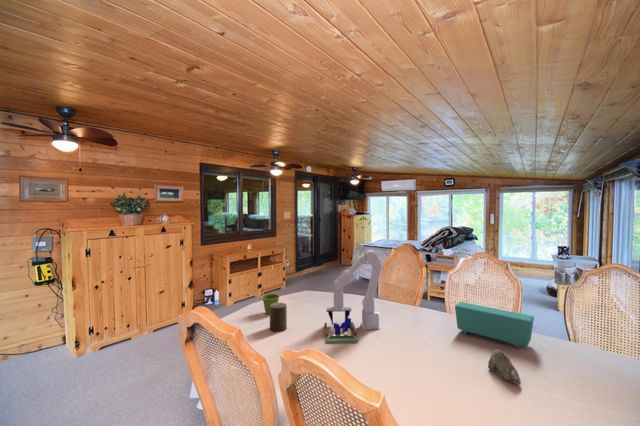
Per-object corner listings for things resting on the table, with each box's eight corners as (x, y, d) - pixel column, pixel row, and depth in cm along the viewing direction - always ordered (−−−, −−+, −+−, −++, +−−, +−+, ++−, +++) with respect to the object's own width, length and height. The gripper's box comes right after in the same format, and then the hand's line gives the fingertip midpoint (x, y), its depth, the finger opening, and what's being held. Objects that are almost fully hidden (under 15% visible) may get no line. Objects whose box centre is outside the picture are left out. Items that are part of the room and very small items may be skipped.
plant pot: (259, 311, 196) (259, 295, 196) (277, 309, 201) (276, 292, 201) (264, 317, 186) (264, 300, 185) (282, 314, 191) (282, 297, 190)
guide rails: (353, 325, 172) (353, 322, 172) (356, 336, 157) (356, 333, 157) (324, 326, 171) (324, 322, 171) (325, 337, 156) (325, 333, 156)
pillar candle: (275, 333, 162) (275, 306, 162) (266, 328, 169) (266, 302, 169) (290, 329, 168) (290, 303, 168) (280, 324, 176) (280, 299, 175)
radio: (534, 345, 144) (534, 315, 144) (531, 353, 137) (531, 321, 136) (460, 327, 167) (460, 300, 167) (454, 332, 160) (454, 305, 159)
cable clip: (344, 326, 170) (344, 316, 170) (351, 329, 167) (350, 318, 167) (331, 333, 161) (331, 322, 161) (337, 336, 158) (337, 325, 158)
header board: (356, 337, 156) (356, 328, 156) (358, 342, 150) (358, 333, 150) (326, 338, 155) (326, 328, 155) (326, 343, 149) (326, 333, 149)
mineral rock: (521, 390, 110) (521, 363, 109) (488, 382, 115) (488, 357, 114) (517, 373, 121) (517, 348, 121) (487, 366, 126) (487, 343, 126)
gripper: (350, 298, 175) (350, 320, 175) (325, 298, 174) (326, 321, 175) (351, 302, 168) (352, 325, 168) (326, 302, 167) (326, 326, 168)
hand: (338, 323), depth 171 cm, fingers open, 7 cm apart
